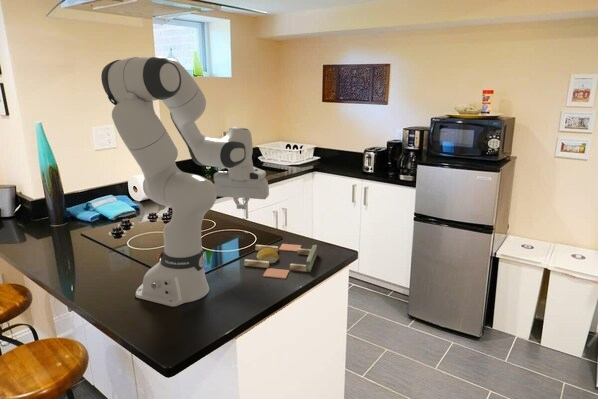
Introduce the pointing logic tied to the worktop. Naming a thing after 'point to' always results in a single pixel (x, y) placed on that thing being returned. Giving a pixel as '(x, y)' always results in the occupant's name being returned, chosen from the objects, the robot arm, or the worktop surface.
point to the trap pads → (279, 272)
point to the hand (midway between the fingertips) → (241, 208)
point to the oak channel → (296, 267)
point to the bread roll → (268, 255)
